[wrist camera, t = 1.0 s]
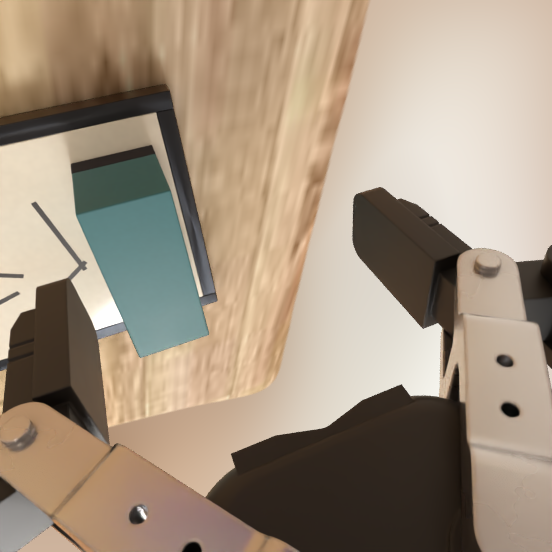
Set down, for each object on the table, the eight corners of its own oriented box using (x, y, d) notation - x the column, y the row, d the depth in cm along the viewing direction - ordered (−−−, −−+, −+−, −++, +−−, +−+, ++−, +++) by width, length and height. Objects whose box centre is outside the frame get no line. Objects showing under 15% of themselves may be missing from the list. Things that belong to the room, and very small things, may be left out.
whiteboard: (-307, 180, 21) (-322, 193, 20) (165, 83, 26) (169, 90, 25) (-87, 386, 32) (-90, 400, 31) (214, 291, 37) (218, 301, 36)
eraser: (70, 163, 25) (75, 214, 21) (151, 144, 26) (170, 190, 22) (128, 301, 33) (139, 358, 29) (190, 282, 34) (209, 335, 30)
